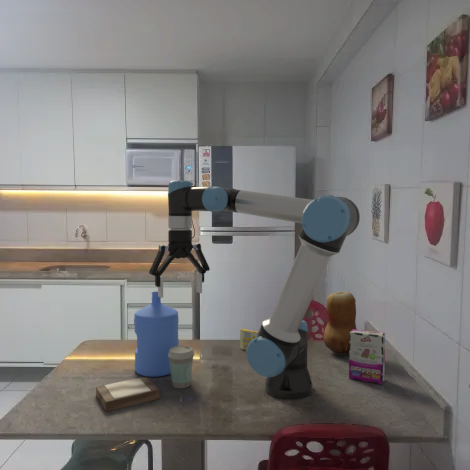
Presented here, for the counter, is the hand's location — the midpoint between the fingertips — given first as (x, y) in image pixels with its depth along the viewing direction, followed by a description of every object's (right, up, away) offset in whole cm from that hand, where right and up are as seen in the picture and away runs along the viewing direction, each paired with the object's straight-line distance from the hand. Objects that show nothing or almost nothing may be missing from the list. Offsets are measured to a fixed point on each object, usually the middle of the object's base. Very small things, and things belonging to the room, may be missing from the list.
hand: (180, 294), depth 140 cm
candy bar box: (+63, -30, +7) cm, 70 cm away
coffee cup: (0, -30, +2) cm, 30 cm away
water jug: (-10, -29, +15) cm, 35 cm away
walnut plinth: (-15, -31, -7) cm, 35 cm away
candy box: (+27, -28, +34) cm, 52 cm away
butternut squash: (+60, -28, +32) cm, 74 cm away
